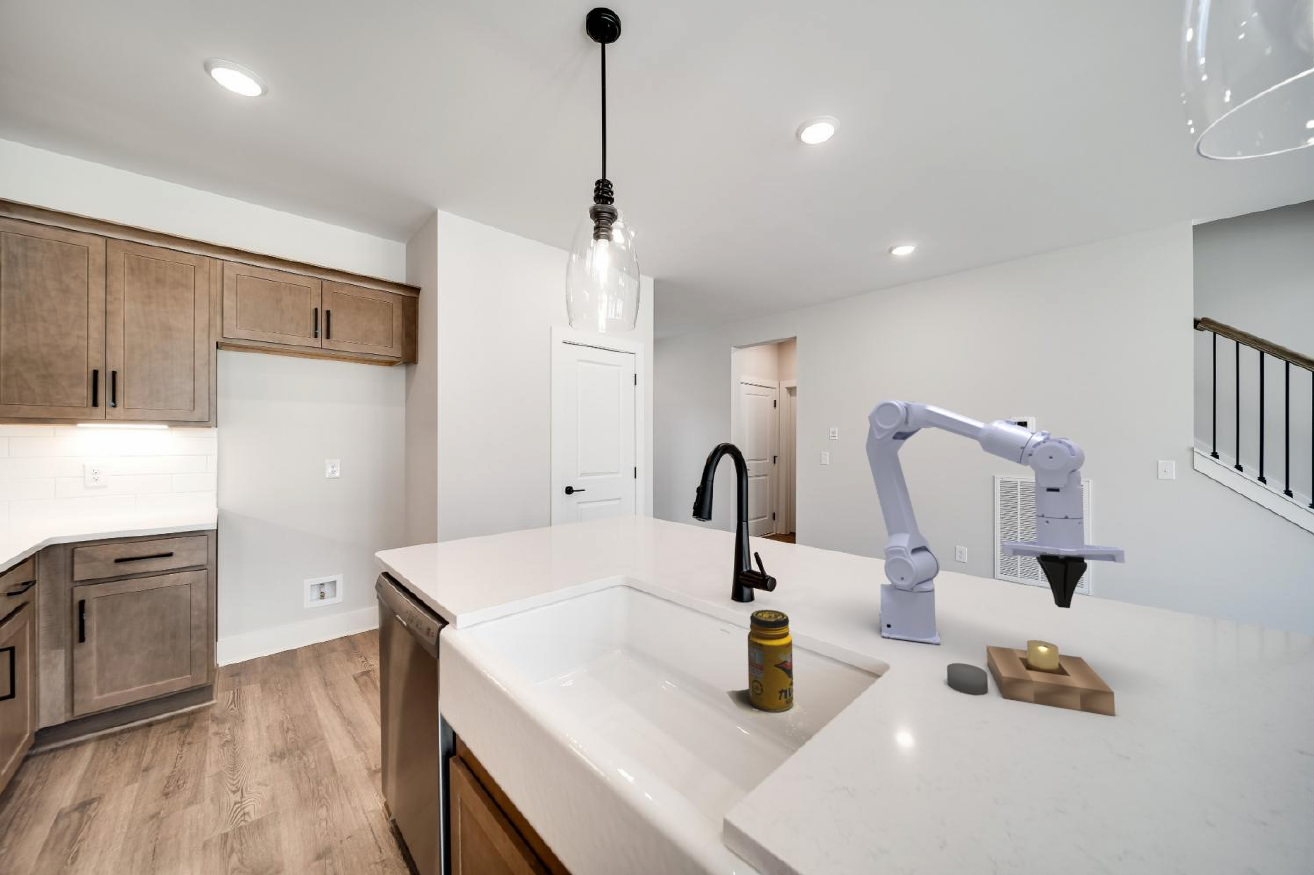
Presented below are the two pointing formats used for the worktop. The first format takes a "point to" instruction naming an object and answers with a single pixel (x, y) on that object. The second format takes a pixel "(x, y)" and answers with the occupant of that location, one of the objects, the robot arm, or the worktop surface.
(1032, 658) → the brass cylinder plug
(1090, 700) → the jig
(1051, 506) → the robot arm
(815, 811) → the worktop surface
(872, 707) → the worktop surface
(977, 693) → the flat gray river rock
